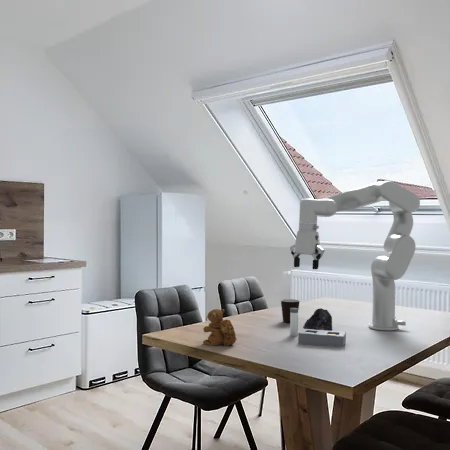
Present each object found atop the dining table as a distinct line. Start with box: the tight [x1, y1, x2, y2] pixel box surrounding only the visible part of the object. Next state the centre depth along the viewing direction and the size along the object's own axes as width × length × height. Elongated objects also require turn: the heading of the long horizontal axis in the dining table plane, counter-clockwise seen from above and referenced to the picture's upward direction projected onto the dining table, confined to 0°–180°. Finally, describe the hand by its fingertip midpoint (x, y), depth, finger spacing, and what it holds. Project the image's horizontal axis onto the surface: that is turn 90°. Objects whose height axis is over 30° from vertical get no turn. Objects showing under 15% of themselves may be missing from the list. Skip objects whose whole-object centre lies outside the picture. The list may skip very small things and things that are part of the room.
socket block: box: [297, 328, 347, 348], centre depth 212 cm, size 17×8×4 cm, turn 71°
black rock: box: [302, 307, 333, 331], centre depth 235 cm, size 13×14×10 cm
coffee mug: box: [280, 298, 300, 324], centre depth 254 cm, size 12×9×10 cm
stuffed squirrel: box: [202, 308, 238, 347], centre depth 209 cm, size 10×14×13 cm
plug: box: [289, 308, 299, 337], centre depth 225 cm, size 3×3×11 cm
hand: (305, 268), depth 233 cm, fingers open, 9 cm apart
